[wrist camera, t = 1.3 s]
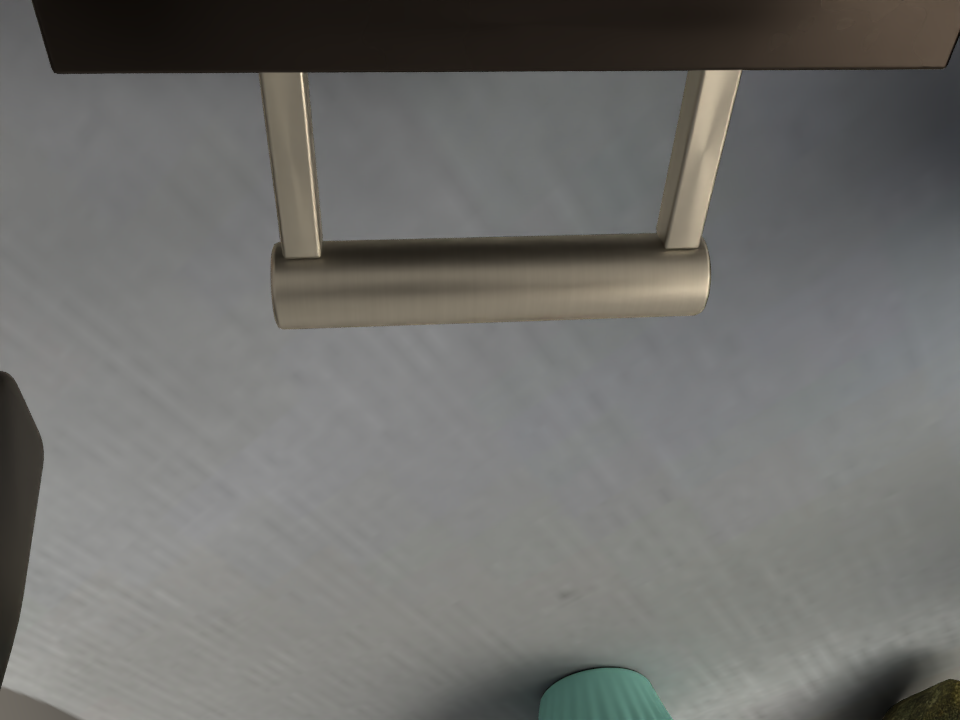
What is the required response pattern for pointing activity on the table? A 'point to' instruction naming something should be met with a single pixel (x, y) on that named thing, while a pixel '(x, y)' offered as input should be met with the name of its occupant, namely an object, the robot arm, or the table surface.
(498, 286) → the black drawer
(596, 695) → the cupcake
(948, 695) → the decorative stone
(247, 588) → the table surface
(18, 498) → the robot arm
